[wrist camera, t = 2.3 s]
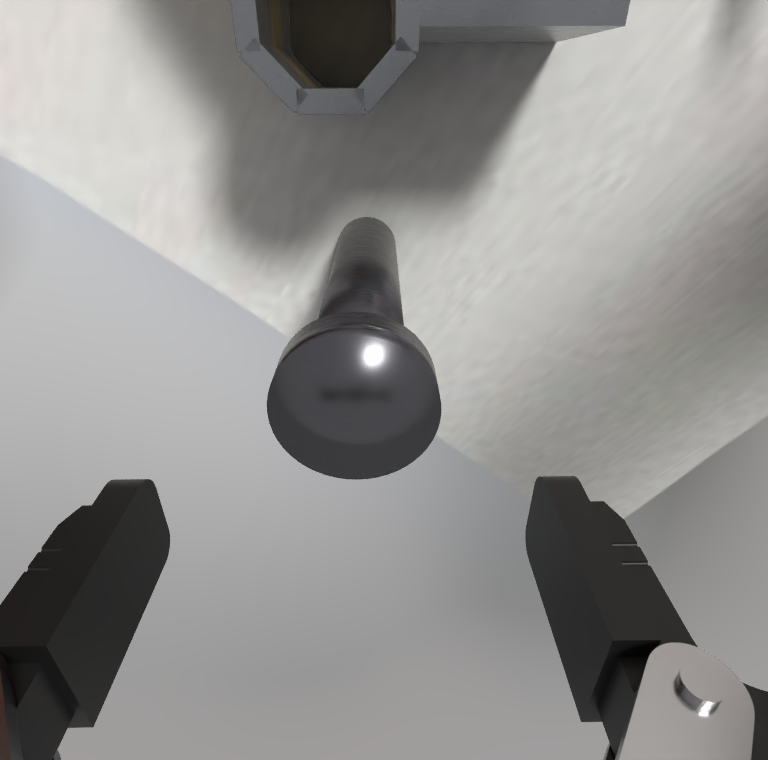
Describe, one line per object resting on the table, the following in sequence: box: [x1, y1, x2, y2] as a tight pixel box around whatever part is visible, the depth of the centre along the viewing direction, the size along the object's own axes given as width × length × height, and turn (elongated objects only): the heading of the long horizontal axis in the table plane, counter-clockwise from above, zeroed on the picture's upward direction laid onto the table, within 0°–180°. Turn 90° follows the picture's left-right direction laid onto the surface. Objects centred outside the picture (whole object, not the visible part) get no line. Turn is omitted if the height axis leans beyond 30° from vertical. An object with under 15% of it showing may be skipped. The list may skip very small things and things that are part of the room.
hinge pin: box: [267, 217, 441, 479], centre depth 21 cm, size 5×5×16 cm
